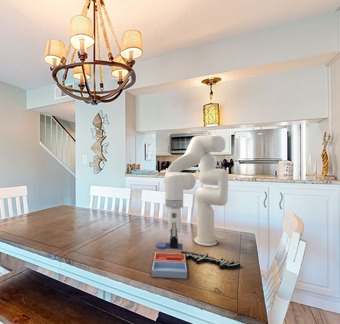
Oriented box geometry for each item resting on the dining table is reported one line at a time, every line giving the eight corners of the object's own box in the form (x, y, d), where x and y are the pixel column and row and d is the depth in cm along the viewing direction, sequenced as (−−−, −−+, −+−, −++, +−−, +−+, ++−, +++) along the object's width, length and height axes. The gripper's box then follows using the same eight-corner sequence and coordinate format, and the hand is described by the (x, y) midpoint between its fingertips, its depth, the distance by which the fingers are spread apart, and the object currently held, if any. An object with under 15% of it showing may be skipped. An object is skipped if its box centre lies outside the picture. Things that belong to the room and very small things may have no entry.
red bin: (184, 259, 100) (184, 253, 100) (185, 267, 92) (185, 261, 92) (155, 257, 101) (155, 252, 101) (153, 266, 93) (153, 260, 93)
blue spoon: (182, 247, 90) (182, 242, 90) (182, 251, 85) (182, 246, 85) (156, 244, 91) (156, 239, 91) (155, 249, 86) (155, 243, 86)
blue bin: (185, 268, 91) (185, 262, 91) (187, 278, 84) (187, 272, 83) (153, 266, 93) (153, 260, 93) (151, 276, 85) (151, 270, 85)
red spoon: (181, 259, 98) (181, 255, 98) (181, 264, 94) (181, 259, 94) (158, 258, 99) (158, 254, 99) (157, 263, 95) (157, 258, 95)
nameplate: (240, 258, 97) (240, 269, 88) (240, 262, 97) (240, 272, 88) (182, 248, 108) (177, 257, 98) (182, 251, 108) (177, 260, 98)
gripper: (184, 207, 80) (183, 255, 80) (182, 200, 95) (182, 240, 95) (164, 207, 80) (164, 254, 81) (166, 199, 96) (165, 239, 96)
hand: (173, 246), depth 88 cm, fingers closed on blue spoon, 1 cm apart
